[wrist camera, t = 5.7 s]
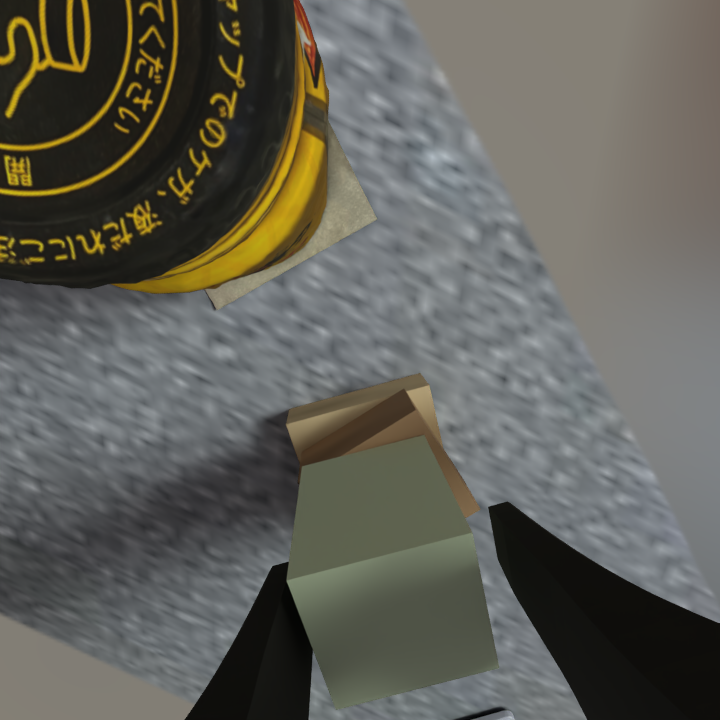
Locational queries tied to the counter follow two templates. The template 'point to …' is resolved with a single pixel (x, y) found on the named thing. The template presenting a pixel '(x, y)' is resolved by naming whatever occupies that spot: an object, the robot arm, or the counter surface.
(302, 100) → the condiment
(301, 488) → the sage block
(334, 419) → the oak slab
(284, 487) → the counter surface
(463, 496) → the walnut slab
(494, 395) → the counter surface
